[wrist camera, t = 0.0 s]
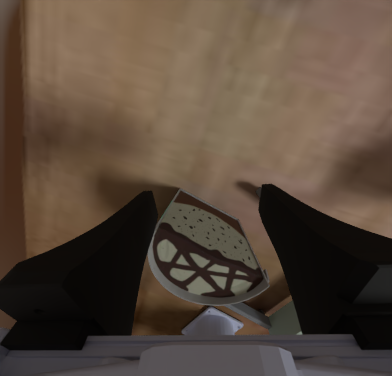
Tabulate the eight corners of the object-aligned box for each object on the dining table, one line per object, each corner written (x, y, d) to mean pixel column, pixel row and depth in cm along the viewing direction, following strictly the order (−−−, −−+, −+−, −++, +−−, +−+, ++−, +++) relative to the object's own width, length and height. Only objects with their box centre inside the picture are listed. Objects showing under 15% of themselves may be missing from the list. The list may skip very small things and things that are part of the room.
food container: (150, 217, 25) (119, 277, 15) (169, 182, 22) (147, 227, 13) (223, 253, 27) (234, 325, 17) (247, 224, 24) (274, 288, 15)
